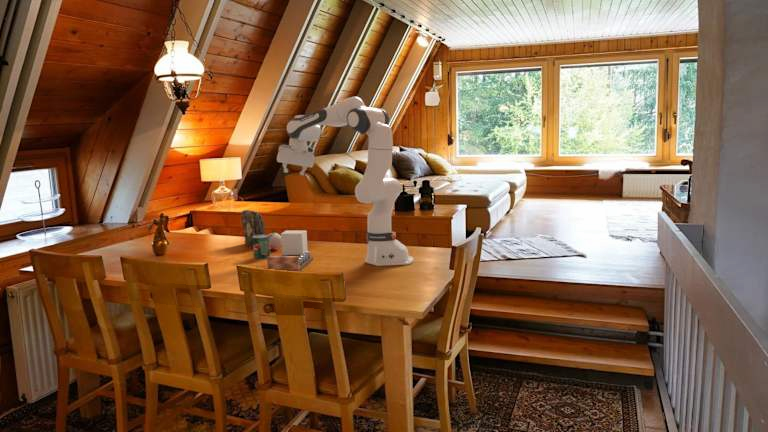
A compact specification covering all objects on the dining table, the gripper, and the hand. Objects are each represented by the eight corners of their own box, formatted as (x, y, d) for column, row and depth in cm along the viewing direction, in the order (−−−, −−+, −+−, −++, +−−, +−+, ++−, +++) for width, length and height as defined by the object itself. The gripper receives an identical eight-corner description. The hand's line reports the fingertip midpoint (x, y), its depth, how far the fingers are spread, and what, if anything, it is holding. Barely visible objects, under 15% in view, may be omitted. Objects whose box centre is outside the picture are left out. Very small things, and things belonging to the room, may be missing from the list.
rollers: (310, 257, 280) (310, 251, 279) (298, 267, 259) (298, 261, 259) (286, 257, 281) (286, 250, 281) (272, 267, 261) (271, 261, 260)
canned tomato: (273, 256, 290) (272, 235, 288) (263, 260, 283) (262, 238, 281) (260, 255, 293) (259, 234, 292) (250, 259, 286) (249, 237, 285)
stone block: (270, 246, 316) (268, 209, 313) (257, 249, 309) (254, 212, 306) (251, 242, 328) (248, 207, 325) (237, 245, 321) (234, 209, 318)
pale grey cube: (307, 251, 278) (306, 230, 276) (302, 254, 270) (301, 233, 269) (287, 251, 279) (286, 230, 278) (282, 254, 271) (280, 233, 270)
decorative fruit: (279, 251, 302) (278, 232, 300) (264, 251, 302) (262, 232, 301) (284, 247, 311) (283, 229, 309) (269, 247, 312) (268, 229, 310)
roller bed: (313, 259, 280) (312, 245, 279) (297, 273, 255) (297, 258, 254) (285, 259, 282) (284, 245, 281) (267, 273, 257) (266, 257, 256)
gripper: (282, 143, 290) (278, 171, 290) (317, 150, 303) (313, 176, 303) (276, 143, 294) (272, 170, 295) (310, 150, 307) (307, 176, 308)
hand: (293, 173), depth 299 cm, fingers open, 8 cm apart
